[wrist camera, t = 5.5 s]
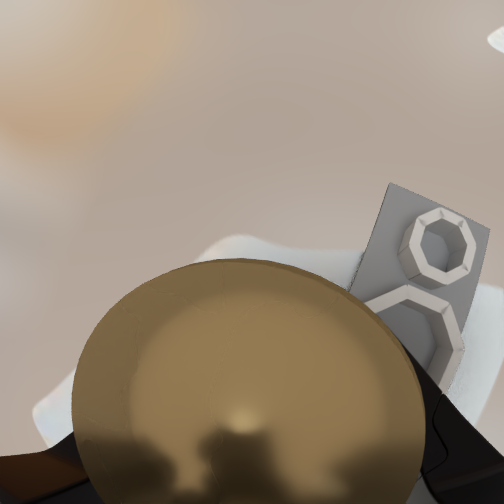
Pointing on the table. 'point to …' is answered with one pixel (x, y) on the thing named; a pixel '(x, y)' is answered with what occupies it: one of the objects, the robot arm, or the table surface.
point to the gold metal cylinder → (246, 393)
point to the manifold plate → (423, 277)
